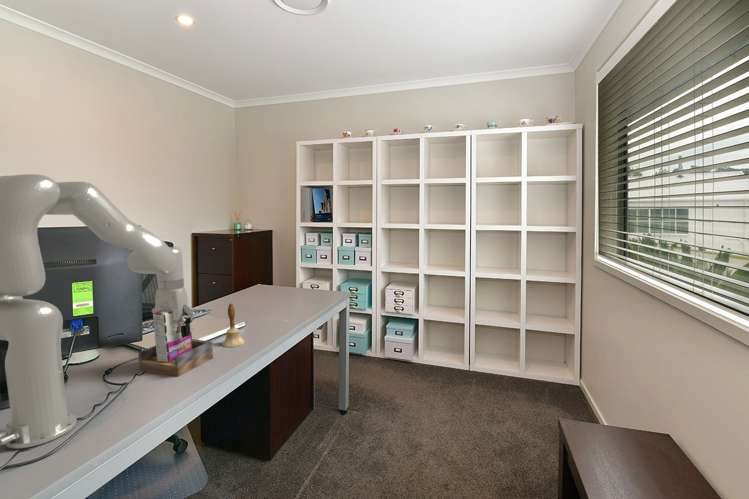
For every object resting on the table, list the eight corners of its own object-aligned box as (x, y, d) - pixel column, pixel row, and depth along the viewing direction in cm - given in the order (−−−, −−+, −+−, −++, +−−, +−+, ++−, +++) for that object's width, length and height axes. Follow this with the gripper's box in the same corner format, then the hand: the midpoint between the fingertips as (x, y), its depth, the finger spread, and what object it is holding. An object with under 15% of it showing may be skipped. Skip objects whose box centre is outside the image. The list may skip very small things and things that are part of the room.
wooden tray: (178, 376, 115) (177, 358, 114) (139, 370, 120) (138, 352, 119) (213, 358, 129) (212, 341, 128) (177, 353, 134) (176, 337, 133)
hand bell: (237, 348, 138) (235, 306, 136) (217, 347, 139) (215, 306, 138) (248, 340, 146) (246, 301, 145) (229, 339, 148) (227, 300, 146)
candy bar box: (181, 349, 129) (178, 303, 127) (193, 350, 128) (190, 304, 126) (155, 362, 118) (151, 312, 117) (168, 363, 117) (164, 313, 115)
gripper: (141, 285, 120) (145, 336, 122) (182, 288, 115) (186, 341, 116) (160, 281, 127) (164, 329, 129) (200, 284, 122) (203, 333, 123)
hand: (174, 334), depth 123 cm, fingers open, 9 cm apart
